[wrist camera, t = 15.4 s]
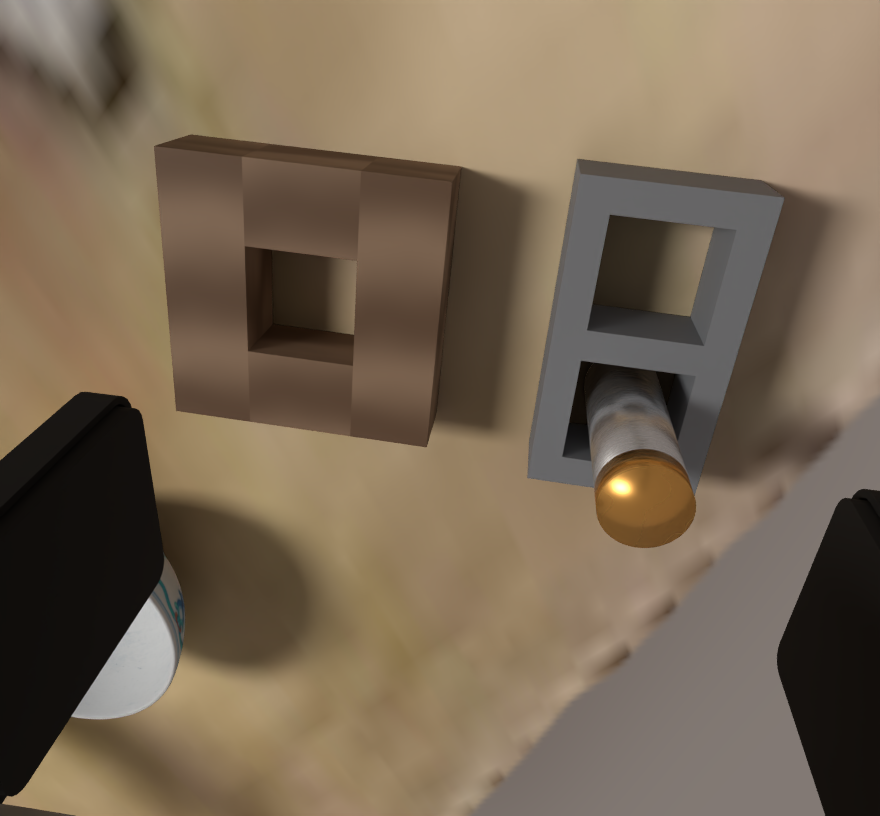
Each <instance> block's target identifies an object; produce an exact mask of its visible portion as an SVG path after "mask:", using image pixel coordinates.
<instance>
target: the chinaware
mask: <svg viewBox="0 0 880 816" xmlns="http://www.w3.org/2000/svg"><path fill="white" fill-rule="evenodd" d="M163 553H164V551H163ZM184 632H185V607H184V600H183V595H182V591H181V587H180V584H179V581H178V578H177V576H176V574H175V572H174V570H173V568H172V566H171V564H170V562H169V561H168V559H167V558H166V556H165V554H164V568H163V572H162V576H161V578H160V581H159V582H158V584H157V586H156V587H155V589H154V591H153V592H152V594H151V595H150V597H149V598H148V600H147V601H146V603H145V604H144V606H143V607H142V609H141V610H140V612H139V613H138V615H137V617H136V618H135V620H134V621H133V623H132V624H131V626H130V627H129V629H128V630H127V632H126V633H125V635H124V636H123V638H122V639H121V641H120V643H119V644H118V646H117V647H116V649H115V650H114V652H113V653H112V655H111V656H110V658H109V659H108V661H107V662H106V664H105V665H104V667H103V668H102V670H101V672H100V673H99V675H98V676H97V678H96V679H95V681H94V682H93V684H92V685H91V687H90V688H89V690H88V691H87V693H86V694H85V696H84V698H83V699H82V701H81V702H80V704H79V705H78V707H77V708H76V710H75V711H74V713H73V714H72V716H71V717H76V718H84V719H113V718H120V717H125V716H129V715H132V714H135V713H137V712H140V711H142V710H144V709H146V708H148V707H149V706H151V705H152V704H154V703H155V702H156V701H157V700H158V699H160V698H161V696H162V695H163V694H164V693H165V692H166V690H167V689H168V687H169V686H170V684H171V682H172V680H173V677H174V675H175V672H176V669H177V666H178V663H179V659H180V655H181V651H182V646H183V641H184Z"/></svg>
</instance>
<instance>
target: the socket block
mask: <svg viewBox="0 0 880 816" xmlns="http://www.w3.org/2000/svg"><path fill="white" fill-rule="evenodd" d="M154 151H155V163H156V175H157V187H158V199H159V211H160V223H161V235H162V247H163V258H164V270H165V282H166V294H167V306H168V318H169V330H170V342H171V354H172V366H173V378H174V390H175V402H176V411H181V412H188V413H195V414H202V415H209V416H216V417H222V418H229V419H236V420H243V421H250V422H257V423H264V424H271V425H277V426H284V427H291V428H298V429H305V430H312V431H319V432H325V433H332V434H339V435H346V436H353V437H360V438H367V439H374V440H380V441H387V442H394V443H401V444H408V445H415V446H422V447H427V444H428V441H429V437H430V434H431V430H432V427H433V423H434V420H435V416H436V412H437V402H438V392H439V382H440V372H441V362H442V353H443V343H444V333H445V323H446V313H447V303H448V293H449V284H450V274H451V264H452V254H453V244H454V234H455V224H456V214H457V205H458V195H459V185H460V175H461V167H460V166H451V165H443V164H434V163H426V162H417V161H409V160H401V159H392V158H384V157H375V156H367V155H358V154H350V153H341V152H333V151H324V150H316V149H308V148H299V147H291V146H282V145H274V144H265V143H257V142H248V141H240V140H231V139H223V138H215V137H206V136H198V135H188V136H185V137H181V138H178V139H175V140H172V141H169V142H166V143H162V144H159V145H156V146H154ZM272 250H279V251H286V252H294V253H302V254H310V255H318V256H325V257H333V258H341V259H349V260H356V261H357V281H356V306H355V330H354V335H350V334H342V333H335V332H328V331H320V330H313V329H306V328H298V327H291V326H284V325H276V324H273V306H272Z"/></svg>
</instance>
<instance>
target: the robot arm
mask: <svg viewBox="0 0 880 816" xmlns="http://www.w3.org/2000/svg"><path fill="white" fill-rule="evenodd" d="M163 568H164V553H163V546H162V540H161V533H160V527H159V520H158V514H157V508H156V501H155V495H154V488H153V482H152V476H151V469H150V463H149V456H148V450H147V443H146V437H145V431H144V424H143V419H142V415H141V413H140V411H139V410H137V409H135V408H131V404H130V403H129V401H128V399H126V398H125V397H123V396H115V395H107V394H99V393H91V392H80V393H79V394H77V395H75V396H74V397H73V398H72V399H71V400H70V401H68V402H67V403H66V404H65V405H64V406H63V407H61V408H60V409H59V410H58V411H57V412H56V413H55V414H53V415H52V416H51V417H50V418H49V419H48V420H47V421H45V422H44V423H43V424H42V425H41V426H40V427H38V428H37V429H36V430H35V431H34V432H33V433H32V434H30V435H29V436H28V437H27V438H26V439H25V440H23V441H22V442H21V443H20V444H19V445H18V446H17V447H15V448H14V449H13V450H12V451H11V452H10V453H8V454H7V455H6V456H5V457H4V458H3V459H2V460H0V816H74V815H68V814H62V813H56V812H50V811H44V810H38V809H32V808H26V807H19V806H12V805H5V804H2V803H3V801H4V800H5V798H6V797H7V796H11V797H12V796H14V795H17V794H18V793H19V792H20V791H21V790H23V788H24V787H25V786H26V784H27V783H28V782H29V780H30V779H31V777H32V775H33V774H34V772H35V771H36V769H37V768H38V766H39V765H40V763H41V762H42V760H43V759H44V757H45V756H46V754H47V753H48V751H49V749H50V748H51V746H52V745H53V743H54V742H55V740H56V739H57V737H58V736H59V734H60V733H61V731H62V730H63V728H64V727H65V725H66V724H67V722H68V720H69V719H70V717H71V716H72V714H73V713H74V711H75V710H76V708H77V707H78V705H79V704H80V702H81V701H82V699H83V698H84V696H85V694H86V693H87V691H88V690H89V688H90V687H91V685H92V684H93V682H94V681H95V679H96V678H97V676H98V675H99V673H100V672H101V670H102V668H103V667H104V665H105V664H106V662H107V661H108V659H109V658H110V656H111V655H112V653H113V652H114V650H115V649H116V647H117V646H118V644H119V643H120V641H121V639H122V638H123V636H124V635H125V633H126V632H127V630H128V629H129V627H130V626H131V624H132V623H133V621H134V620H135V618H136V617H137V615H138V613H139V612H140V610H141V609H142V607H143V606H144V604H145V603H146V601H147V600H148V598H149V597H150V595H151V594H152V592H153V591H154V589H155V587H156V586H157V584H158V582H159V581H160V578H161V576H162V572H163ZM777 666H778V672H779V676H780V679H781V682H782V685H783V688H784V691H785V694H786V697H787V700H788V703H789V706H790V709H791V712H792V715H793V718H794V721H795V724H796V727H797V731H798V734H799V736H800V740H801V743H802V746H803V749H804V752H805V755H806V758H807V761H808V764H809V767H810V770H811V773H812V776H813V779H814V782H815V785H816V788H817V791H818V794H819V797H820V800H821V803H822V806H823V810H824V813H825V816H880V491H876V490H868V489H862V490H859V491H857V492H856V493H855V494H854V495H853V497H852V499H850V498H844V499H842V500H841V501H840V502H839V503H838V505H837V506H836V508H835V511H834V514H833V516H832V518H831V520H830V523H829V525H828V528H827V530H826V533H825V535H824V537H823V540H822V542H821V545H820V547H819V550H818V552H817V554H816V557H815V559H814V562H813V564H812V567H811V569H810V571H809V574H808V576H807V578H806V581H805V583H804V586H803V589H802V591H801V593H800V595H799V598H798V600H797V603H796V605H795V607H794V610H793V612H792V615H791V617H790V620H789V622H788V624H787V627H786V629H785V632H784V634H783V637H782V639H781V641H780V644H779V647H778V653H777Z"/></svg>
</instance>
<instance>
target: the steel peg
mask: <svg viewBox="0 0 880 816" xmlns="http://www.w3.org/2000/svg"><path fill="white" fill-rule="evenodd" d="M584 392H585V402H586V412H587V422H588V432H589V442H590V452H591V462H592V472H593V482H594V492H595V502H596V512H597V517H598V520H599V523H600V525H601V527H602V528H603V529H604V531H605V532H606V533H607V534H608V535H609V536H610V537H612V538H613V539H615V540H616V541H618V542H620V543H622V544H625V545H628V546H632V547H638V548H651V547H657V546H661V545H665V544H667V543H670V542H672V541H674V540H675V539H677V538H678V537H680V536H681V535H682V534H683V533H684V532H685V531H686V530H687V529H688V528H689V526H690V525H691V523H692V521H693V519H694V516H695V512H696V500H695V497H694V493H693V490H692V487H691V484H690V480H689V477H688V474H687V471H686V467H685V464H684V461H683V458H682V454H681V451H680V448H679V445H678V442H677V438H676V435H675V432H674V429H673V425H672V422H671V419H670V416H669V412H668V409H667V406H666V403H665V399H664V396H663V393H662V390H661V386H660V383H659V380H658V377H657V373H656V371H654V370H646V369H639V368H631V367H624V366H617V365H609V364H602V363H595V362H594V363H593V364H592V366H591V367H590V368H589V370H588V371H587V374H586V376H585V380H584Z"/></svg>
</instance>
